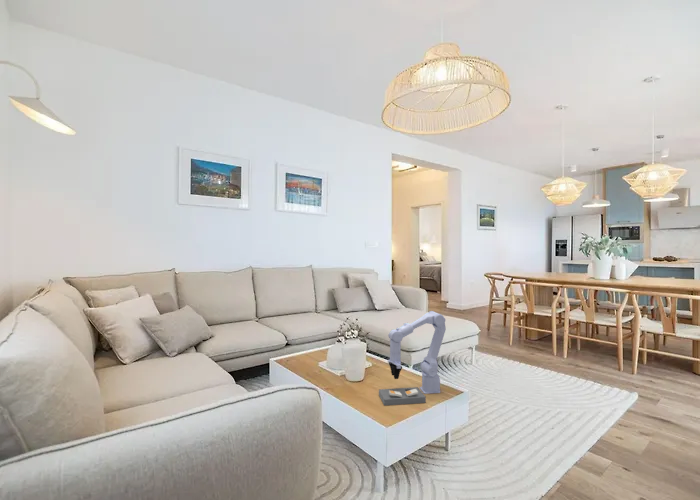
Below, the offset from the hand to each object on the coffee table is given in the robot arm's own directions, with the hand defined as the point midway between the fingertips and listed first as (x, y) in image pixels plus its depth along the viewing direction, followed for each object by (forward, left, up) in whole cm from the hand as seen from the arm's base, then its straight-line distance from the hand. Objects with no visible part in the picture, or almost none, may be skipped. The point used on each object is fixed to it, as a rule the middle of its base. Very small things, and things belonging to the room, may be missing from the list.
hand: (395, 376), depth 185 cm
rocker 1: (+3, +9, -5) cm, 11 cm away
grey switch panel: (-2, +6, -9) cm, 11 cm away
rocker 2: (-6, +9, -6) cm, 12 cm away
